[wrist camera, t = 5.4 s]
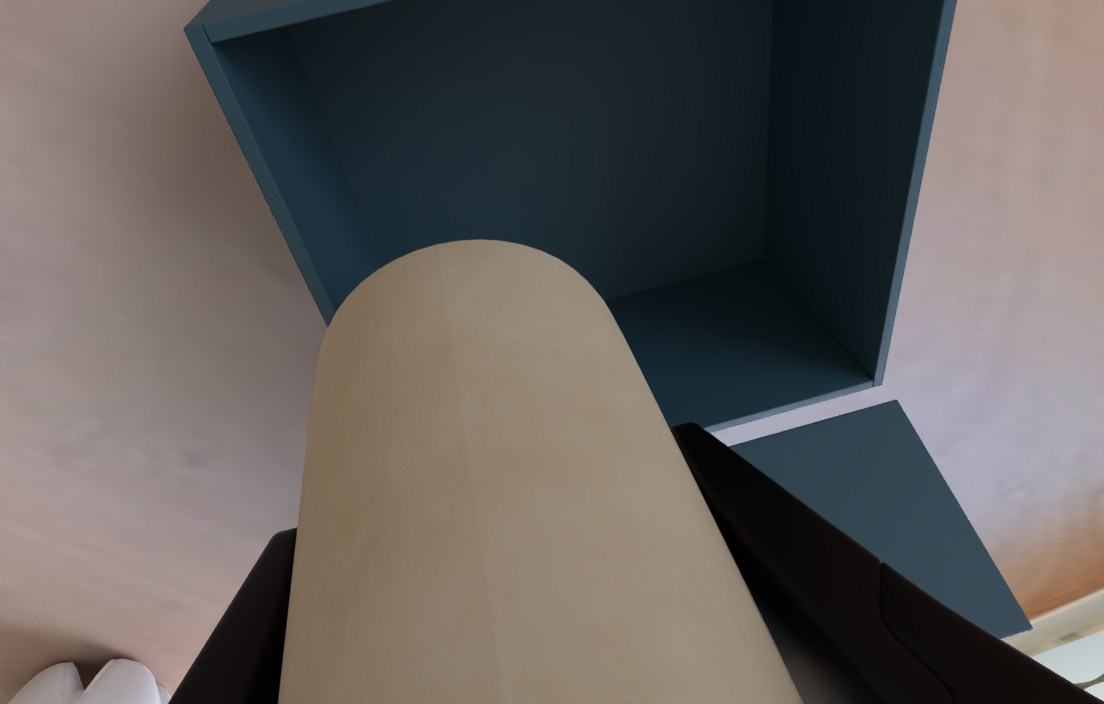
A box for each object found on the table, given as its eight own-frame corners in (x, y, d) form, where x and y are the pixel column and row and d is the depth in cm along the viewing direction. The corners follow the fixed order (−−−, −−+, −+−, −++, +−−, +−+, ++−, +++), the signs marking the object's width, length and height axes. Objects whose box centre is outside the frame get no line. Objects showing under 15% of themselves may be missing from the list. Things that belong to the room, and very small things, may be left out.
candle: (373, 498, 14) (371, 1319, 6) (263, 278, 11) (-39, 1499, 3) (626, 433, 14) (918, 1130, 7) (601, 199, 11) (1145, 1088, 3)
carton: (767, 259, 25) (882, 385, 19) (407, 354, 24) (418, 515, 18) (784, -165, 17) (989, -161, 11) (248, -41, 16) (181, 28, 11)
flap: (897, 398, 19) (892, 405, 19) (419, 532, 18) (423, 537, 18) (1034, 629, 15) (1025, 631, 16) (461, 803, 15) (465, 802, 15)
